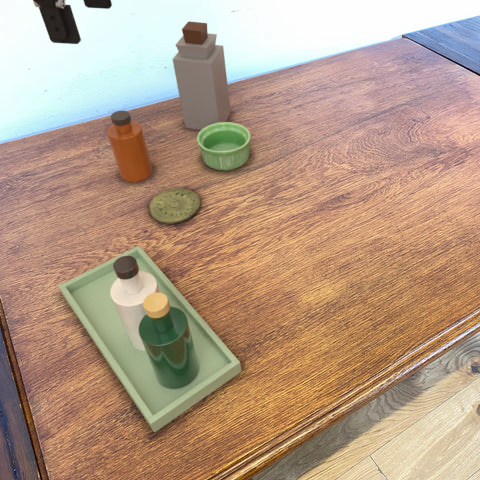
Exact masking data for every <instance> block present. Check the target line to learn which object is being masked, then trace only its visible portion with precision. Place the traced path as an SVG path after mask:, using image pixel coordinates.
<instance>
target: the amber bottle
mask: <svg viewBox="0 0 480 480" xmlns="http://www.w3.org/2000/svg"><path fill="white" fill-rule="evenodd" d="M131 117H132V116H131V114H130V112H129V111H128V110H117V111H114V112H112V114H111V115H110V119H111V122H112V124H111V125H109V126H108V128H107V130H106V134H107V137H108V141H109V143H110V147H111V150H112V153H113V156H114V160H115V162H116V166H117V169H118V172H119V175H120V178H121V179H122V180H124V181H126V182H130V183H137V182H142V181H145V180H147V179H148V178H149V177H150V176H151V175H152V174H153V166H152V163H151V162H152V161H151V159H150V154H149V151H148V147H147V142H146V139H145V135H144V131H143V127H142V124H140V123H139V122H138V121H134V120H132V118H131Z"/></svg>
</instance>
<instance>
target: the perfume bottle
mask: <svg viewBox="0 0 480 480" xmlns="http://www.w3.org/2000/svg"><path fill="white" fill-rule="evenodd" d="M181 32H182V36H181V37H180V39H179V40H178V41H177V42H176V43H175V48H176V49H177V51H178V52H176V54H175V55H174V57H173V58H172V64H173V70H174V75H175V80H176V86H177V90H178V95H179V96H178V97H179V101H180V106H181V107H180V108H181V112H182V117H183V122H184V128H185V129H191V130H199V131H201V130H202V129H203V128H205V127H207V126H209V125H211V124H215V123H220V122H227V121H228V119H229V117H230V115H231V113H232V112H231V104H230V94H229V87H228V77H227V69H226V60H225V59H226V58H225V50H224V45H221V44H217V36H218V35H217V34H218V33H208V23H207V22H199V21H190V20H189V21H187V22H186V24H185V25H184V26H183V27H182V29H181Z"/></svg>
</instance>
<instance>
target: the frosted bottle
mask: <svg viewBox="0 0 480 480" xmlns="http://www.w3.org/2000/svg"><path fill="white" fill-rule="evenodd" d="M113 268H114V271H115V273H116V276H117V277H118V279H117V280H116V281H115V282H114V283H113V285H112V287H111V290H110V295H111V298H112V301H113V303H114V305H115V308H116V310H117V312H118V315H119V317H120V319H121V322H122V324H123V327H124V329H125V331H126V334H127V336H128V338H129V341H130V343H131V345H132V346H133V347H134V348H136V349H137V350H140V351H146V350H145V348H144V345H143V343H142V340H141V338H140V335H139V324H140V322H141V320H142V318H143V317H144V316H145V315H146V312H145V309H144V307H143V302H144V299H145V298H146V297H147V296H148V295H150V294H152V293H155V292H160V291H159V288H158V285H157V281H156V279H155V278H154V276H153V275H151V274H149V273H147V272H144V271H139V266H138V263H137V261H136V259H135V258H134V257H132V256H122V257H120V258H118V259H117V260H116V261H115V262H114V264H113Z"/></svg>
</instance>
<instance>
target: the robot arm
mask: <svg viewBox="0 0 480 480" xmlns="http://www.w3.org/2000/svg"><path fill="white" fill-rule="evenodd" d="M82 1H83V4H84V6H85V7H86V8H89V9H104V10H105V9H106V10H109V9H111V8H112V6H113V3H112V0H82ZM32 2H33V5H34V6H35V7H36V8H38V9H39V13H40V16H41V18H42V21H43V23H44V26H45V29H46V32H47V35H48V38H49V41H51V42H52V43H53V44H67V45H79V43H80V42H81V41H82V38H81V35H80V31H79V28H78V26H77V25H78V24H77V23H76V19H75V15H74V13H73V9H72V7H71V6H72V5H71V4H66V0H32Z"/></svg>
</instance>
